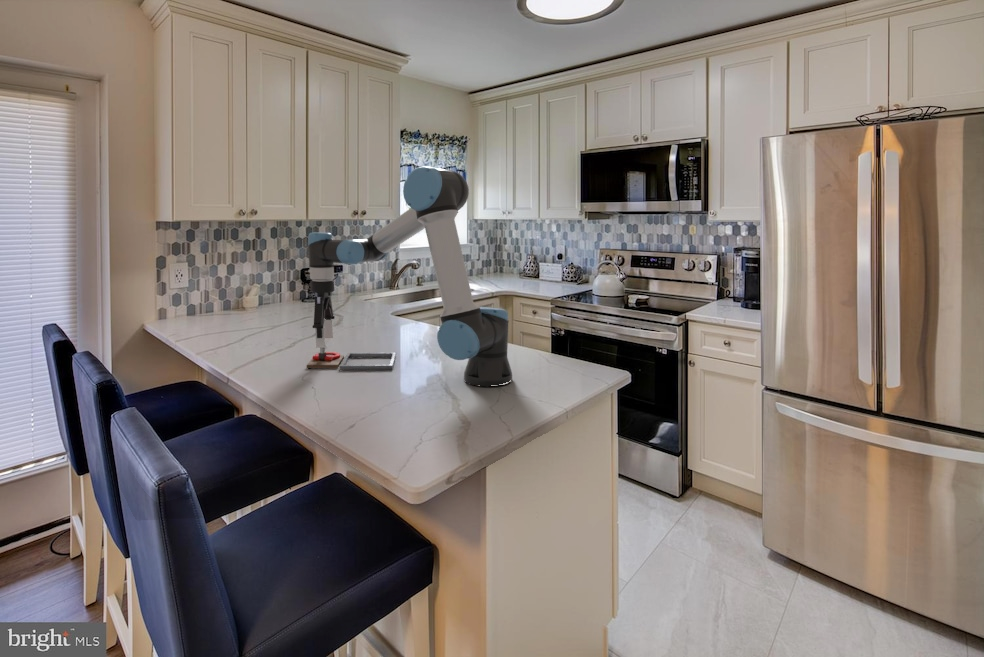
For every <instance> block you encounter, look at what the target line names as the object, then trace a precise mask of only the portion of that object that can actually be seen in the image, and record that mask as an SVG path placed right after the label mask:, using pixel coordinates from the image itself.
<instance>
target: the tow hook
mask: <svg viewBox="0 0 984 657" xmlns="http://www.w3.org/2000/svg"><path fill="white" fill-rule="evenodd" d="M340 356H341V354H340V353H339V352H334V351H326V347H325V348H319V352H317V353H315V355H313V356H312V358H313V360H321V361H326V360H327V361H332V359H335V358H339V357H340Z"/></svg>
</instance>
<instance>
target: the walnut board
mask: <svg viewBox="0 0 984 657" xmlns="http://www.w3.org/2000/svg"><path fill="white" fill-rule="evenodd" d="M344 358H345V355H340V357H339V358H335V359H332V361H327V360H326V361H321V360H313V357H311V359H310V361H309V362H308V363H307V364H306V369H307V368H331V369H339V368H340V366H339V365H341V362H342V361H343V359H344ZM338 367H339V368H338Z"/></svg>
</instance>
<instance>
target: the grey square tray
mask: <svg viewBox="0 0 984 657" xmlns="http://www.w3.org/2000/svg"><path fill="white" fill-rule="evenodd" d="M350 357H377V358H391V359H390V363H389V364H348V363H349V361H350V359H351V358H350ZM396 357H397V352H347V353H346V355H345V356H344V360H343V361H342V363H341V364H340V366H339V371H340V370H343V371H393V370H394V366H395V362H396V359H397V358H396ZM348 360H349V361H348ZM347 362H348V363H347Z"/></svg>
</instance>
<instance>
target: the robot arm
mask: <svg viewBox="0 0 984 657" xmlns="http://www.w3.org/2000/svg"><path fill="white" fill-rule="evenodd" d="M402 188H403V189H402V191H403V192H402V194H403V198H404V201H405V203H406V205H407V206H408V207H410V208H409V209H407V210H406V211H404V212H403V213H402V214H400V215H399V216H398V217H396V218H394V219H393V220H392V221H391V222H389V223H388V224H386V225H384V226H383V227H382V228H380V229H379V230H377V231H376V232H375V233H373V234H372V235H370V236H368V238H359V239H357V238H356V239H354V238H353V239H333V234H332V233H331V232H320V231H319V232H315V231H314V232H310V233H309V234H308V239H307V240H308V241H307V249H308V261H309V262H308V263H309V264H308V265H309V269H308V271H307V273H309V278H310V282H309V283H310V286H309V287H310V292H311V293H315V294H316V296H315V297H314V313H313V315H314V316H313V325H312V329H315V345H316V347H315V348H319V349H320V348H325V349H326V339H333V338H334V328H333V327H334V326H333V325H334V324H333V320H335V318H336V317H335V315H334V310H333V303H332V296H331V294H332V293H333V292H334V291H335V281H334V280H333V279H335V269H334V268H335V267H334V264H335V263H336V264H343V265H358V264H359V263H365V262H366V263H368V262H379V261H383V260H386V258H387V257H388V255H389V253H390V252H391V251H392V250H395V248H396V247H398V246H400V245H401V244H403V243H404V242H407V240H409V239H410V238H412V237H414V236H415V235H417V234H419V233H420V232H422V231H423V230H425V233H426V239H427V243H428V246H429V252H430V255H431V260H432V264H433V268H434V272H435V277H436V281H437V285H438V290H439V294H440V299H441V302H442V306H443V309H442V312H441V313H440V315H439V316H440V321H441V322H440V323H441V325H440V326H439V328H438V330H437V334H436V339H437V343H438V346H439V348H440V349H441V351H442V353H443V354H445V355H446V356H447V357H449V358H450V359H453V360H454V361H455V360H456V361H464V360H467V359H468V360H467V363H466V366H465V369H464V373H463V381H464V380H465V381H466V382H467V383H466V382H465V381H464V382H465V383H466V384H468V383H470V384H469V385H471V384H473V385H472V386H474V385H480V386H491V385H499V384H503V383H506V382H509V381H510V380H511V379H512V380H513V372H512V369H511V364H510V361H509V359H508V344H509V342H508V341H509V340H508V339H509V321H510V320H509V313H508V311H507V309H504V308H497V307H490V306H480V305H479V304H476V303H475V302H474V298H473V295H472V291H471V286H470V282H469V278H468V273H467V270H466V265H465V260H464V256H463V251H462V247H461V243H460V238H459V235H458V229H457V224H456V221H455V220H456V217H457V215H458V213H459V210H461V209H462V208H464V206H465V204H466V203H467V201H468V199H469V195H470V194H469V191H470V190H469V185H468V182H467V180H466V179H465V177H464V176H463V175H462V174H461V173H459V172H457V171H454V170H451V169H444V168H439V167H434V166H429V165H428V166H419V167H416V168H413V170H412V171H411V172H409V173H408V175H407V176H406V179H405V180H404V184H403V187H402ZM480 386H479V387H480Z"/></svg>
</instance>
